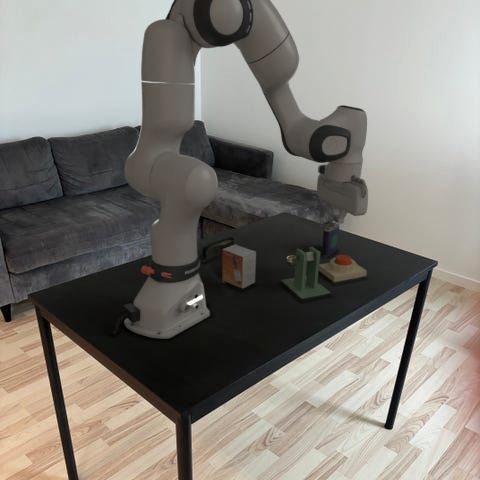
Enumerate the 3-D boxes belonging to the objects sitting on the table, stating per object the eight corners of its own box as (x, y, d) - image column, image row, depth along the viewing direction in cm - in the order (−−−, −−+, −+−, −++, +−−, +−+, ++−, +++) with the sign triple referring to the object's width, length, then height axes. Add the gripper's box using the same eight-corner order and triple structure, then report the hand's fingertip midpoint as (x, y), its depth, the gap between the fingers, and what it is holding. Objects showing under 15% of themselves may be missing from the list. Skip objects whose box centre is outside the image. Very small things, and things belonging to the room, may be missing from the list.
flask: (331, 247, 162) (334, 217, 156) (339, 249, 160) (342, 218, 155) (319, 256, 155) (322, 225, 149) (328, 258, 154) (331, 227, 148)
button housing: (333, 285, 137) (335, 270, 135) (317, 272, 144) (318, 259, 142) (365, 278, 141) (367, 264, 138) (348, 267, 148) (350, 253, 146)
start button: (340, 267, 138) (341, 261, 137) (332, 261, 141) (333, 256, 141) (353, 264, 139) (354, 259, 139) (345, 259, 143) (345, 253, 142)
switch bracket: (281, 283, 138) (283, 245, 132) (308, 278, 141) (311, 240, 135) (301, 302, 128) (304, 261, 122) (330, 296, 131) (334, 256, 125)
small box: (221, 283, 138) (221, 248, 132) (235, 277, 141) (235, 243, 136) (242, 291, 133) (242, 256, 128) (255, 285, 137) (256, 250, 131)
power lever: (285, 267, 140) (283, 256, 140) (294, 265, 141) (293, 255, 141) (305, 263, 128) (304, 251, 127) (316, 261, 129) (314, 249, 128)
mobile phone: (229, 234, 159) (198, 246, 148) (236, 236, 157) (205, 248, 147) (228, 248, 161) (198, 261, 151) (235, 250, 159) (205, 263, 149)
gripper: (377, 180, 120) (369, 232, 127) (334, 163, 137) (329, 210, 143) (356, 182, 118) (349, 235, 125) (315, 165, 134) (310, 213, 141)
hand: (338, 222), depth 134 cm, fingers closed
